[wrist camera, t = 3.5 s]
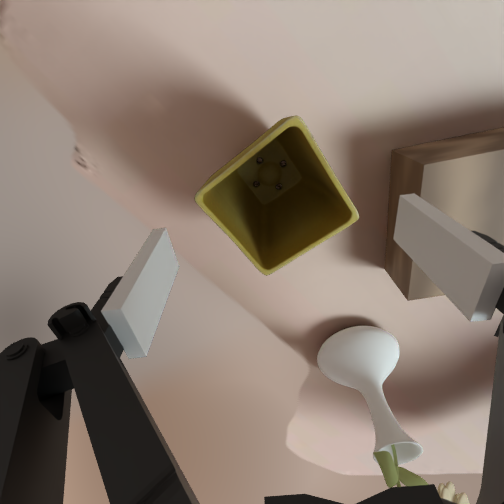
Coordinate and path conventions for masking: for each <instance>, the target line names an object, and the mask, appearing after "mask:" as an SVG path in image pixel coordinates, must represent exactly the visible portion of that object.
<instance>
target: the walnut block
mask: <svg viewBox="0 0 504 504" xmlns="http://www.w3.org/2000/svg"><path fill="white" fill-rule="evenodd" d="M413 193H414V194H416V195H417V196H419V197H420V198H422V199H423V200H425V201H426V202H428V203H429V204H431V205H432V206H434V207H435V208H437V209H438V210H440V211H441V212H443V213H444V214H446V215H447V216H449V217H450V218H452V219H453V220H455V221H457V222H458V223H460V224H461V225H463V226H464V227H466V228H467V229H469V230H470V231H477V232H479V233H482V234H485V235H488V236H489V237H491V238H492V239H494V240H495V241H497V243H500V244H502V245H503V246H504V127H503V128H498V129H493V130H488V131H483V132H478V133H473V134H468V135H464V136H459V137H454V138H449V139H444V140H439V141H434V142H429V143H424V144H419V145H414V146H410V147H405V148H400V149H395V150H392V155H391V172H390V189H389V205H388V222H387V238H386V255H385V270H386V272H387V273H388V274H389V276H390V277H391V278H392V280H393V281H394V283H395V284H396V285H397V287H398V288H399V289H400V291H401V292H402V293H403V295H404V296H405V298H406V299H407V300H408V301H409V300H415V299H422V298H429V297H435V296H442V295H445V294H444V293H443V292H442V291H441V290H440V289H439V288H438V287H437V285H436V284H435V283H434V282H433V281H432V280H431V279H430V278H429V277H428V276H427V275H426V274H425V273H424V272H423V270H422V269H421V268H420V267H419V266H418V265H417V264H416V263H415V262H414V261H413V260H412V259H411V258H410V257H409V255H408V254H407V253H406V252H405V251H404V250H403V249H402V248H401V247H400V246H399V245H398V244H397V243H396V241H395V240H394V239H393V238H394V231H395V224H396V218H397V211H398V204H399V198H400V195H406V194H413Z"/></svg>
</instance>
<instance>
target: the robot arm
mask: <svg viewBox="0 0 504 504" xmlns="http://www.w3.org/2000/svg"><path fill="white" fill-rule="evenodd" d="M393 239H394V240H395V241H396V243H397V244H398V245H399V246H400V247H401V248H402V249H403V250H404V251H405V252H406V253H407V254H408V255H409V257H410V258H411V259H412V260H413V261H414V262H415V263H416V264H417V265H418V266H419V267H420V268H421V269H422V270H423V272H424V273H425V274H426V275H427V276H428V277H429V278H430V279H431V280H432V281H433V282H434V283H435V284H436V285H437V287H438V288H439V289H440V290H441V291H442V292H443V293H444V294H445V295H446V296H447V297H448V298H449V299H450V300H451V302H452V303H453V304H454V305H455V306H456V307H457V308H458V309H459V310H460V311H461V312H462V313H463V314H464V316H465V317H466V318H467V319H468V320H469V321H470V322H472V321H481V320H490V319H491V318H492V315H493V313H494V311H495V309H496V308H497V309H498V310H499V311H500V312H502V313H503V314H504V246H503V245H502V244H500V243H497V241H495V240H494V239H492V238H491V237H489V236H488V235H485V234H482V233H479V232H477V231H470V230H469V229H467V228H466V227H464V226H463V225H461V224H460V223H458V222H457V221H455V220H453V219H452V218H450V217H449V216H447V215H446V214H444V213H443V212H441V211H440V210H438V209H437V208H435V207H434V206H432V205H431V204H429V203H428V202H426V201H425V200H423V199H422V198H420V197H419V196H417V195H416V194H414V193H413V194H406V195H400V198H399V204H398V211H397V218H396V224H395V231H394V238H393ZM178 269H179V264H178V261H177V258H176V255H175V252H174V249H173V246H172V243H171V241H170V238H169V235H168V232H167V229H166V228H160V229H153V230H152V232H151V234H150V235H149V237H148V238H147V240H146V241H145V243H144V245H143V246H142V248H141V249H140V251H139V252H138V254H137V256H136V257H135V259H134V260H133V262H132V263H131V265H130V267H129V268H128V270H127V271H126V273H125V274H124V276H122V277H117V278H116V279H115V280H114V281H113V282H111V283H110V284H109V285H108V287H107V288H106V289H105V291H104V293H103V294H102V295H101V297H100V299H99V300H98V301H97V303H96V304H95V305H94V307H93V309H92V310H91V311H90V309H89V308H88V306H87V305H86V304H85V303H81V302H77V303H72V304H70V305H67V306H65V307H63V308H61V309H60V310H58V311H57V312H55V313H54V314H53V315H52V316H51V318H50V319H49V320H48V326H49V327H50V329H51V330H52V331H53V333H54V334H55V335H56V337H57V338H58V339H57V340H54V341H51V342H48V343H45V344H42V345H41V344H40V343H39V341H38V340H37V339H35V338H25V339H21V340H19V341H17V342H15V343H13V344H11V345H10V346H8V347H7V348H5V350H3V352H1V353H0V504H63V496H64V484H65V470H66V458H67V443H68V431H69V419H70V418H69V417H70V406H71V393H72V389H73V388H74V389H75V392H76V395H77V399H78V401H79V405H80V408H81V411H82V415H83V418H84V421H85V424H86V428H87V431H88V434H89V437H90V440H91V444H92V447H93V450H94V453H95V457H96V460H97V463H98V466H99V469H100V472H101V476H102V479H103V482H104V485H105V489H106V492H107V495H108V498H109V502H110V504H200V503H199V502H198V500H197V498H196V496H195V494H194V492H193V491H192V489H191V487H190V485H189V483H188V481H187V480H186V478H185V476H184V474H183V472H182V470H181V469H180V467H179V465H178V463H177V461H176V460H175V458H174V456H173V454H172V453H171V450H170V449H169V447H168V445H167V443H166V441H165V439H164V437H163V436H162V434H161V432H160V430H159V428H158V427H157V425H156V423H155V421H154V419H153V417H152V416H151V414H150V412H149V410H148V408H147V406H146V405H145V403H144V401H143V399H142V397H141V395H140V394H139V392H138V390H137V388H136V386H135V384H134V383H133V381H132V379H131V377H130V376H129V373H128V372H127V370H126V368H125V366H124V364H123V363H122V361H121V359H120V356H121V354H122V352H123V350H124V351H125V353H126V355H127V356H128V358H129V359H131V358H140V357H147V354H148V351H149V349H150V346H151V343H152V340H153V338H154V335H155V332H156V329H157V327H158V324H159V321H160V318H161V316H162V313H163V310H164V308H165V305H166V302H167V299H168V296H169V294H170V291H171V288H172V286H173V283H174V280H175V277H176V275H177V272H178ZM494 336H497V337H498V336H499V340H498V348H497V357H496V365H495V374H494V382H493V391H492V399H491V408H490V416H489V425H488V433H487V442H486V450H485V459H484V467H483V476H482V484H481V490H480V494H479V497H478V500H477V503H476V504H504V316H503V318H502V320H501V322H500V324H499V326H498V328H497V331H496V333H495V335H494ZM264 498H265V504H342V503H339V502H335V501H331V500H327V499H323V498H319V497H315V496H311V495H307V494H297V495H283V496H270V497H264ZM357 504H457V503H454V502H452V501H449V500H446V499H443V498H440V496H439V493H438V491H437V489H436V487H435V485H434V484H432V485H418V486H405V487H391V488H389V489H387V490H385V491H383V492H381V493H378V494H376V495H374V496H372V497H370V498H367V499H365V500H363V501H361V502H359V503H357Z"/></svg>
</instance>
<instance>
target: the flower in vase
mask: <svg viewBox="0 0 504 504" xmlns="http://www.w3.org/2000/svg"><path fill="white" fill-rule="evenodd" d="M399 354H400V352H399V344H398V341H397V339H396V338H395V337H394V336H393V335H392V334H391V333H389V332H387V331H386V330H383V329H381V328H378V327H374V326H355V327H350V328H346V329H344V330H341V331H339V332H337V333H335V334H333V335H332V336H331V337H329V338H328V339H327V340H326V341H325V342H324V343H323V345H322V346H321V348H320V350H319V353H318V356H317V364H318V366H319V368H320V370H321V371H322V372H323V374H324V375H325V376H326V377H327V378H329V379H331V380H332V381H334V382H336V383H338V384H341V385H344V386H347V387H351V388H354V389H357V390H358V391H360V392H361V393H362V395H363V396H364V398H365V400H366V402H367V405H368V407H369V410H370V413H371V416H372V420H373V424H374V429H375V435H376V444H375V450H374V452H373V459H374V460H375V461H376V462H377V463H379V465H380V468H381V470H382V473H383V475H384V478H385V481H386V484H387V486H388V487H389V488H391V487H393V486H394V485H396V484H397V487H401V485H400V481H401V482H402V483H403V484H404V485H406V486H418V485H428V484H427V482H426V481H425V480H424V479H422V478H421V477H420V476H418V475H416V474H414V473H412V472H410V471H408V470H406V469H404V468H402V467H398V465H399V464H404V463H408V462H410V461H413V460H415V459H416V458H418V457H419V456H420V455H421V454H422V452H423V448H422V446H421V445H420V444H419V443H417V442H416V441H414V440H413V439H412V438H411V437H410V436H408V435H407V434H406V432H405V431H404V430H403V429H402V428H401V426H400V425H399V423H398V422H397V420H396V419H395V417H394V415H393V413H392V412H391V410H390V408H389V406H388V404H387V402H386V399H385V396H384V394H383V390H382V384H383V382H384V380H385V379H386V378H387V377H388V376H389V374H390V373H391V372H392V370H393V369H394V367H395V365H396V363H397V361H398V359H399ZM438 493H439V496H440V498H443V499H446V500H449V501H452V502H454V503H457V504H470V503H469V501H468V497H467V495H466V494H465V493H461V494H456V495H455V488H454V485H453V483H452V482H448V483H447V484H446V486H445V485H444V484H443V483H441V484H439V486H438Z"/></svg>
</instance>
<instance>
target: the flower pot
mask: <svg viewBox="0 0 504 504" xmlns="http://www.w3.org/2000/svg"><path fill="white" fill-rule="evenodd" d="M259 157H261V158H262V159H263V162H262V163H258V162H257V159H258V158H259ZM281 161H286V165H285V166H281V165H280V163H281ZM255 181H258V182H259V185H258V186H254V182H255ZM277 184H281V186H282V187H281V188H280V189H277V188H276V185H277ZM194 199H195V202H196V203H197V204H198V206H199V207H200V208H201V209H202V210H203V211H204V212H205V213H206V214H207V215H208V216H209V217H210V218H211V219H212V220H213V221H214V222H215V223H216V224H217V225H218V226H219V227H220V228H221V229H222V230H223V231H224V232H225V233H226V234H227V236H229V238H230V239H231V240H232V241H233V242H234V243H235V244H236V245H237V246H238V248H239V249H240V250H241V251H242V252H243V253H244V254H245V256H246V257H247V258H248V259H249V260H250V261H251V262H252V263H253V264H254V266H255V267H256V268H257V269H258V270H259V271H260V272H261V273H262V274H264V275H266V276H267V275H270V274H272V273H274V272H275V271H277V270H278V269H280V268H282V267H283V266H285V265H286V264H288V263H290V262H291V261H293V260H294V259H296V258H297V257H299V256H301V255H302V254H304V253H306V252H307V251H309V250H311V249H312V248H314V247H315V246H317V245H319V244H320V243H322V242H324V241H325V240H327V239H329V238H330V237H332V236H334V235H336V234H337V233H339V232H340V231H342V230H344V229H345V228H347V227H348V226H350V225H351V224H353V223H354V222H356V221H357V220H358V219H359V213H358V211H357V209H356V208H355V206H354V205H353V203H352V201H351V200H350V198H349V197H348V195H347V193H346V192H345V190H344V188H343V187H342V185H341V184H340V182H339V180H338V179H337V177H336V175H335V174H334V172H333V170H332V169H331V167H330V165H329V164H328V162H327V160H326V159H325V157H324V155H323V154H322V152H321V150H320V149H319V147H318V145H317V143H316V141H315V140H314V138H313V136H312V134H311V133H310V131H309V129H308V128H307V126H306V125H305V123H304V122H303V120H302V119H301V118H300V117H299V116H291V117H287V118H283V119H281V120H280V121H278V122H277V123H276V124H275V125H274V126H272V127H271V128H270V129H269V130H268V131H266V132H265V133H264V134H263V135H262V136H261V137H259V138H258V139H257V140H256V141H254V142H253V143H252V144H251V145H250V146H248V147H247V148H246V149H245V150H243V151H242V152H241V153H240V154H238V155H237V156H236V157H235V158H233V159H232V160H231V161H229V162H228V163H227V164H226V165H224V166H223V167H222V168H221V169H219V170H218V171H217V172H215V173H214V174H213V175H212V176H211V177H210V178H209V179H208V180H207V182H206V183H205V184H204V185H203V186H202V187H201V188H200V190H199V191H198V192H197V193H196V195H195V198H194Z"/></svg>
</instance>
